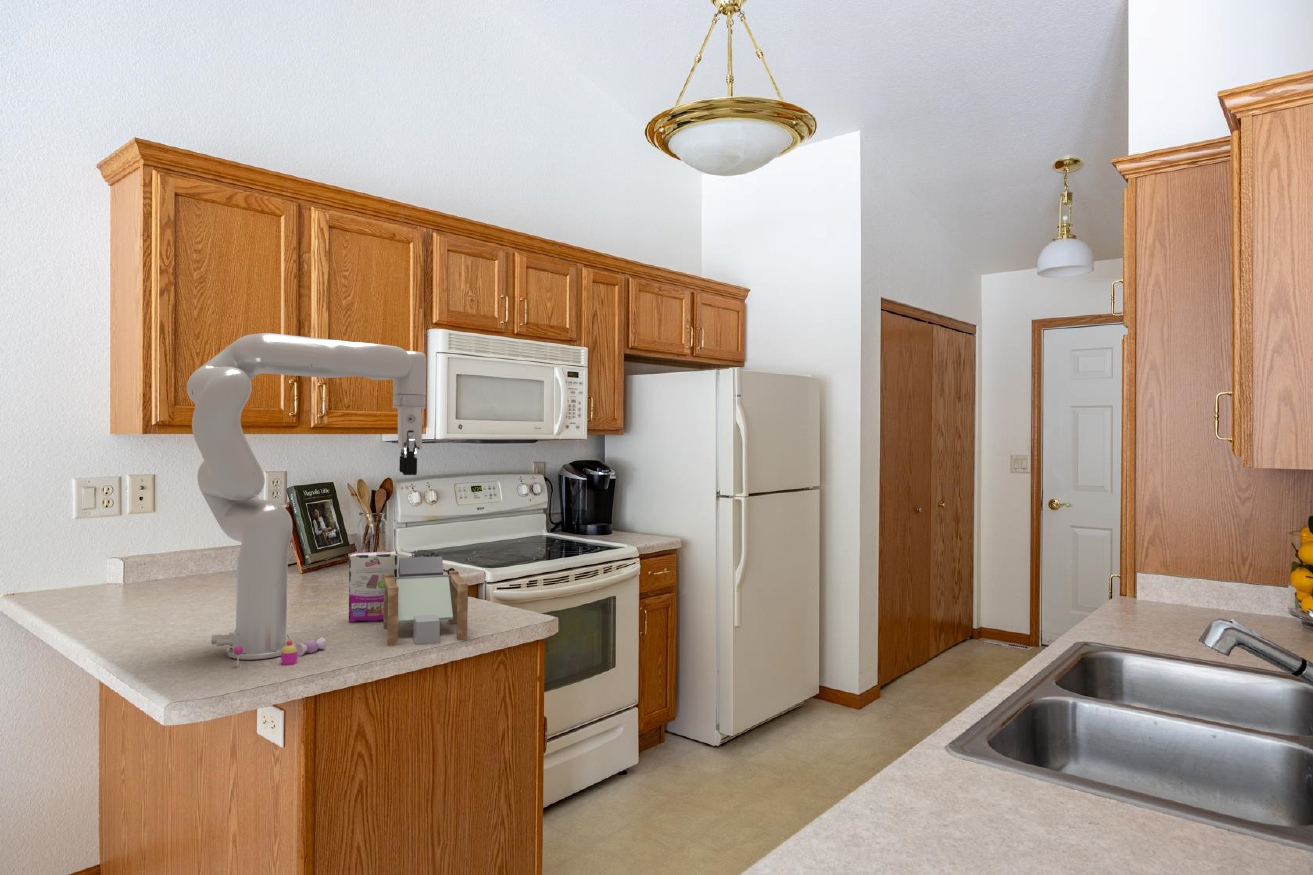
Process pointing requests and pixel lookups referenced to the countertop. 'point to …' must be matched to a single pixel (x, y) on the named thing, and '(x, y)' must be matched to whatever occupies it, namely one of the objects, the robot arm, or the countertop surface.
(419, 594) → the trapdoor
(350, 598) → the candy bar box
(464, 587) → the frame
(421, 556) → the massage brush
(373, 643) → the countertop surface
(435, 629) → the light gray block
